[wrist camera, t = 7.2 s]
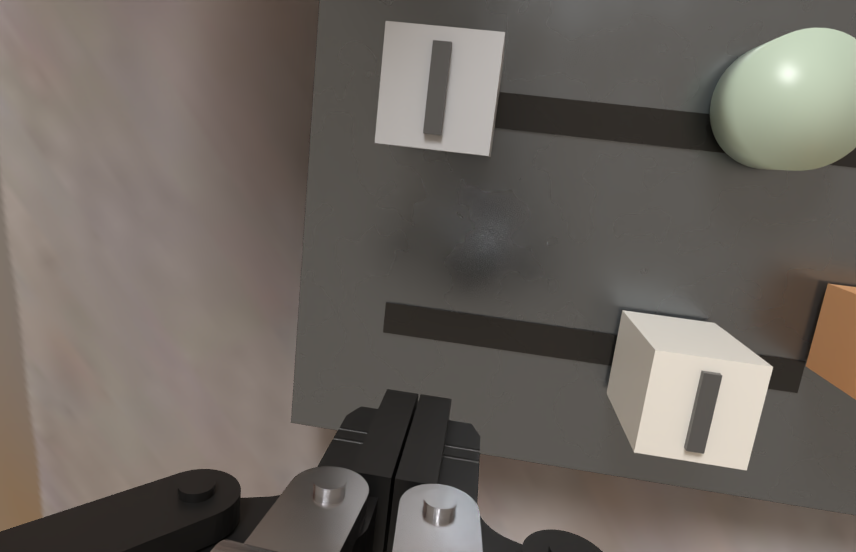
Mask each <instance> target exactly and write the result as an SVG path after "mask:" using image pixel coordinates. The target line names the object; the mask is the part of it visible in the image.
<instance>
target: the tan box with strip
mask: <svg viewBox="0 0 856 552" xmlns="http://www.w3.org/2000/svg"><path fill="white" fill-rule="evenodd" d="M806 367H808V368H809V369H810V370H812V371H813V372H815V373H816V374H818V375H819V376H821V377H822V378H824V379H825V380H827V381H828V382H830V383H831V384H833V385H834V386H836V387H837V388H839V389H840V390H842V391H843V392H845V393H846V394H848V395H849V396H851V397H852V398H854V399H855V400H856V287H851V286H843V285H835V284H828V285H827V288H826V292H825V296H824V299H823V303H822V307H821V311H820V314H819V318H818V322H817V326H816V329H815V333H814V337H813V340H812V344H811V348H810V352H809V355H808V359H807V363H806Z"/></svg>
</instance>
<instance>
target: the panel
mask: <svg viewBox="0 0 856 552" xmlns="http://www.w3.org/2000/svg"><path fill="white" fill-rule="evenodd" d="M386 21H393V22H404V23H414V24H425V25H435V26H446V27H456V28H467V29H477V30H488V31H499V32H505V44H504V61H503V68H502V76H501V83H500V91H499V98H498V106H497V113H496V121H495V128H494V136H493V143H492V151H491V157H488V156H480V155H471V154H462V153H454V152H445V151H436V150H428V149H419V148H410V147H402V146H394V145H387V144H379V143H375V133H376V122H377V111H378V100H379V89H380V77H381V66H382V55H383V44H384V33H385V22H386ZM807 28H829V29H835V30H838V31H841V32H844V33H846V34H848V35H851V36H852V37H854V38H855V39H856V0H319V15H318V30H317V45H316V60H315V75H314V89H313V104H312V119H311V134H310V149H309V164H308V178H307V193H306V208H305V223H304V238H303V252H302V267H301V282H300V297H299V312H298V327H297V341H296V356H295V371H294V386H293V401H292V416H291V423H296V424H302V425H308V426H315V427H321V428H327V429H333V430H338V429H340V426H341V424H342V422H343V420H344V419H345V417H346V415H348V414H349V413H351V412H353V411H354V410H356V409H357V408H359V407H361V406H362V407H369V408H375V409H378V408H379V406H380V404H381V402H382V399H383V397H384V395H385V393H386V391H387V389H390V390H397V391H403V392H410V393H416V394H418V401H419V398H420V395H421V394H423V395H429V396H436V397H442V398H449V399H452V401H451V409H450V417H449V420H451V421H458V422H464V423H470V424H472V425H473V426H474V428H475V429H476V431H477V432H478V434H479V435H480V454H485V455H491V456H497V457H504V458H510V459H516V460H522V461H528V462H534V463H540V464H546V465H552V466H558V467H565V468H571V469H577V470H583V471H589V472H595V473H601V474H607V475H613V476H619V477H626V478H632V479H638V480H644V481H650V482H656V483H662V484H668V485H674V486H680V487H687V488H693V489H699V490H705V491H711V492H717V493H723V494H729V495H735V496H741V497H747V498H754V499H760V500H766V501H772V502H778V503H784V504H790V505H796V506H802V507H808V508H815V509H821V510H827V511H833V512H839V513H845V514H851V515H856V400H855V399H854V398H852V397H851V396H849V395H848V394H846V393H845V392H843V391H842V390H840V389H839V388H837V387H836V386H834V385H833V384H831V383H830V382H828V381H827V380H825V379H824V378H822V377H821V376H819V375H818V374H816V373H815V372H813V371H812V370H810V369H809V368H808V367H806V363H807V359H808V355H809V352H810V348H811V344H812V340H813V337H814V333H815V329H816V326H817V322H818V318H819V314H820V311H821V307H822V303H823V299H824V296H825V292H826V288H827V285H828V284H835V285H843V286H851V287H856V148H855V149H854V150H852V151H851V152H850V153H848V154H847V155H846V156H844V157H843V158H841V159H839V160H838V161H836V162H834V163H831V164H829V165H827V166H824V167H821V168H817V169H812V170H804V171H791V170H765V169H756V168H751V167H748V166H745V165H743V164H741V163H739V162H737V161H735V160H734V159H732V158H731V157H730V156H728V155H727V154H726V153H725V152H724V151H723V149H722V148H721V147H720V146H719V144H718V142H717V141H716V139H715V136H714V134H713V131H712V127H711V122H710V105H711V99H712V95H713V92H714V90H715V87H716V85H717V83H718V81H719V79H720V78H721V76H722V75H723V73H724V72H725V71H726V69H727V68H728V67H729V66H730V65H731V64H732V63H733V62H734V61H735V60H736V59H738V58H739V57H740V56H742V55H743V54H745V53H746V52H748V51H750V50H752V49H754V48H756V47H758V46H760V45H763V44H765V43H767V42H770V41H772V40H774V39H776V38H779V37H781V36H783V35H786V34H788V33H791V32H794V31H797V30H802V29H807ZM622 310H624V311H632V312H639V313H646V314H654V315H661V316H668V317H675V318H683V319H690V320H697V321H704V322H712V323H716V324H717V325H718V326H720V327H721V328H722V329H724V330H725V331H726V332H728V333H729V334H730V335H732V336H733V337H734V338H735V339H737V340H738V341H739V342H741V343H742V344H743V345H745V346H746V347H747V348H749V349H750V350H751V351H753V352H754V353H755V354H757V355H758V356H759V357H761V358H762V359H763V360H765V361H766V362H767V363H769V364H770V365H771V366H773V370H772V374H771V377H770V381H769V385H768V389H767V393H766V397H765V401H764V405H763V409H762V413H761V417H760V420H759V424H758V428H757V432H756V436H755V440H754V444H753V448H752V452H751V456H750V460H749V464H748V467H747V470H741V469H734V468H728V467H722V466H716V465H709V464H703V463H697V462H691V461H684V460H678V459H672V458H666V457H659V456H653V455H647V454H641V453H634V451H633V449H632V447H631V445H630V443H629V441H628V438H627V436H626V434H625V432H624V430H623V428H622V426H621V423H620V421H619V419H618V417H617V415H616V413H615V410H614V408H613V406H612V404H611V402H610V400H609V398H608V395H607V388H608V383H609V377H610V372H611V367H612V362H613V357H614V351H615V346H616V341H617V336H618V331H619V325H620V320H621V315H622Z"/></svg>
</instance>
